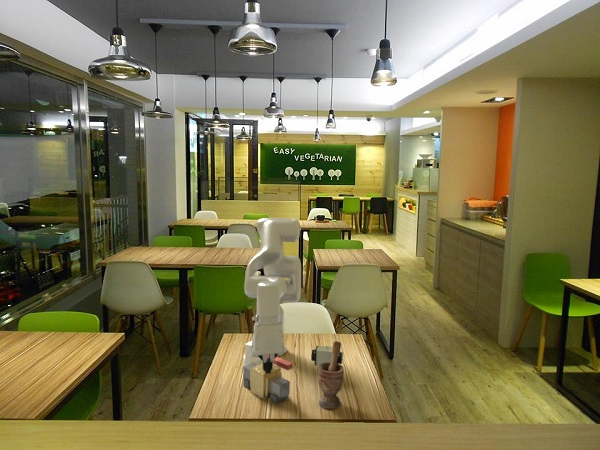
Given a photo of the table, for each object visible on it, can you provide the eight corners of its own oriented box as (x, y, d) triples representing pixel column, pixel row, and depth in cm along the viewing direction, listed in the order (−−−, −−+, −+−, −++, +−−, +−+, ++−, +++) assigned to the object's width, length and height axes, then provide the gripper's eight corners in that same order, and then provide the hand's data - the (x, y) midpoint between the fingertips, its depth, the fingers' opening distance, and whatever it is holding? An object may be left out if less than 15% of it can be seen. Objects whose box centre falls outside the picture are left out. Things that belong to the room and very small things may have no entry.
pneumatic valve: (341, 380, 172) (342, 349, 170) (310, 376, 174) (311, 346, 173) (342, 373, 177) (343, 344, 176) (313, 370, 180) (313, 341, 178)
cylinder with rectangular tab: (256, 377, 173) (257, 347, 171) (238, 371, 177) (238, 342, 176) (270, 369, 180) (271, 340, 179) (252, 363, 185) (252, 335, 183)
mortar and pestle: (317, 392, 162) (318, 339, 159) (341, 393, 162) (343, 339, 159) (317, 409, 150) (318, 352, 148) (343, 410, 150) (345, 353, 148)
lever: (258, 358, 160) (258, 353, 160) (266, 355, 163) (266, 350, 163) (286, 371, 151) (286, 365, 151) (293, 367, 153) (293, 362, 153)
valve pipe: (239, 385, 166) (239, 353, 165) (256, 378, 172) (256, 347, 170) (275, 406, 152) (276, 371, 150) (292, 398, 158) (293, 364, 156)
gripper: (247, 324, 144) (247, 379, 146) (293, 320, 148) (292, 374, 150) (243, 317, 151) (243, 369, 153) (287, 313, 155) (286, 365, 157)
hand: (267, 371), depth 151 cm, fingers closed
